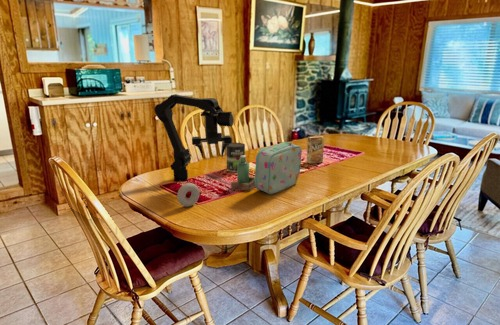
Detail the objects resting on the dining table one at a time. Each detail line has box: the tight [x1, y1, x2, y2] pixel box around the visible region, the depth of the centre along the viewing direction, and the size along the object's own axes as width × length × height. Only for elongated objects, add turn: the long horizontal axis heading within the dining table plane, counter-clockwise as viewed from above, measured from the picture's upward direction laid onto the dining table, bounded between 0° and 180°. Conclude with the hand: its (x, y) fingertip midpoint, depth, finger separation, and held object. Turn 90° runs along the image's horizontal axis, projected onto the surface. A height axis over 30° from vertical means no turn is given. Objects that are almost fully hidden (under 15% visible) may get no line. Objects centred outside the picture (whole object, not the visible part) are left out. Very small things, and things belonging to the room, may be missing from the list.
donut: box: [176, 182, 200, 208], centre depth 144 cm, size 10×4×10 cm, turn 131°
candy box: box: [306, 135, 325, 164], centre depth 206 cm, size 9×4×15 cm, turn 107°
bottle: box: [236, 154, 250, 184], centre depth 167 cm, size 6×6×14 cm
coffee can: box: [225, 142, 246, 173], centre depth 193 cm, size 10×10×14 cm
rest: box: [230, 176, 255, 192], centre depth 168 cm, size 10×11×3 cm
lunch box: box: [254, 141, 302, 195], centre depth 164 cm, size 27×10×21 cm, turn 141°
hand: (212, 157), depth 170 cm, fingers open, 9 cm apart
